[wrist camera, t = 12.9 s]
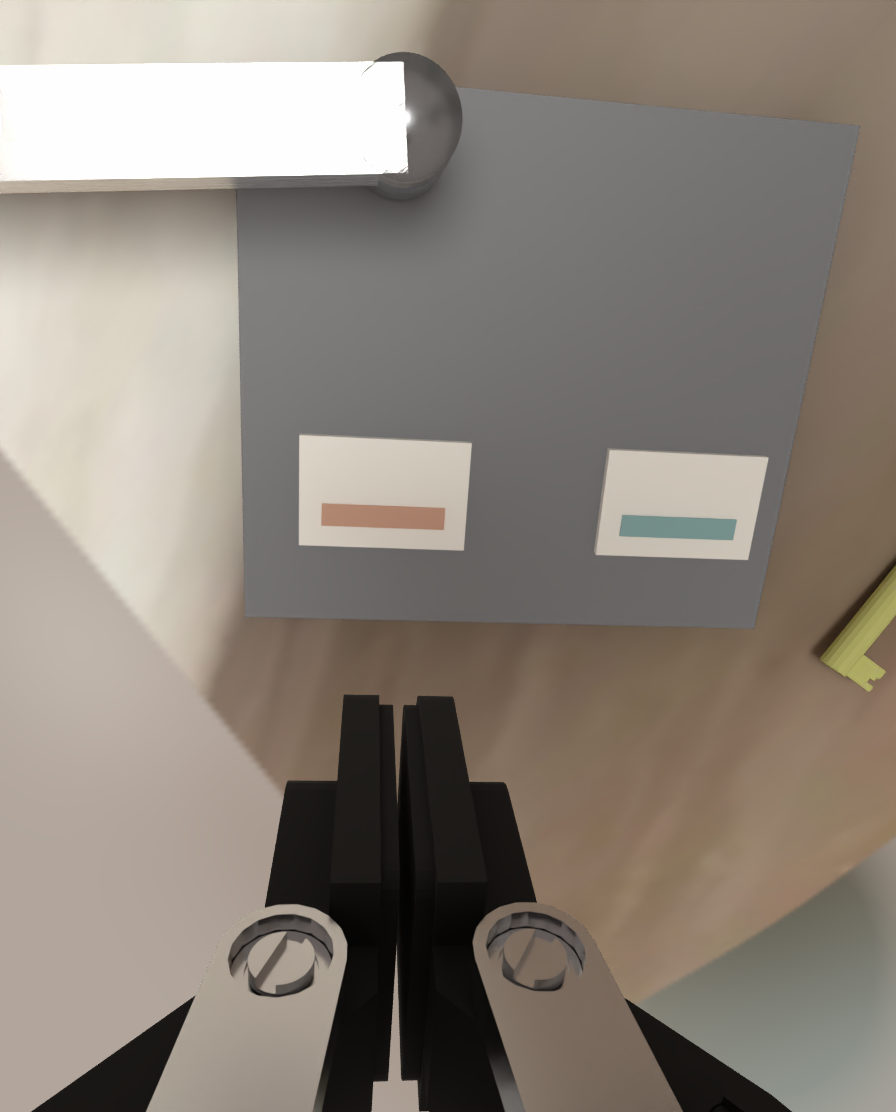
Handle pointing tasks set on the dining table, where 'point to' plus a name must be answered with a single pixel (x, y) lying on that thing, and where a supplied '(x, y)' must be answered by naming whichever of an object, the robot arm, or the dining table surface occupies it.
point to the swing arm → (228, 126)
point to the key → (863, 635)
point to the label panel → (536, 369)
